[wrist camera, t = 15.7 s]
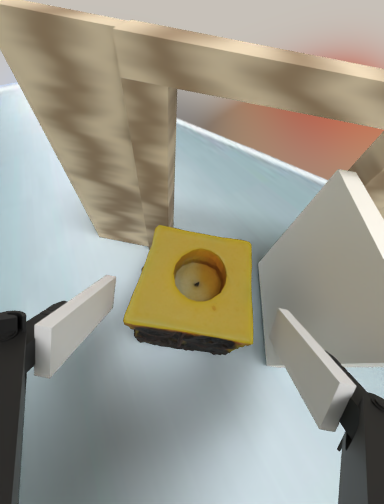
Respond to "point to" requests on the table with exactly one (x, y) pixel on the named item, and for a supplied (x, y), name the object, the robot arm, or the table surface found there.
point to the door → (331, 274)
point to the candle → (194, 293)
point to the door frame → (161, 102)
